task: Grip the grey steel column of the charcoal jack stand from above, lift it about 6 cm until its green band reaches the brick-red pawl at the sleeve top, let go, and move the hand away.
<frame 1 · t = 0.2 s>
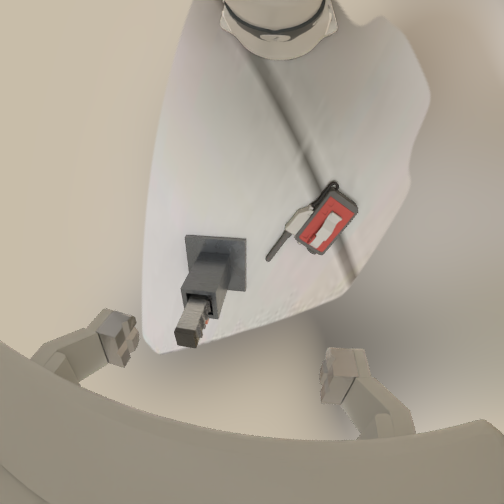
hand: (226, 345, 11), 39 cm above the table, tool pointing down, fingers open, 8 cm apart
walkie-talkie: (310, 227, 51), on the table
column: (203, 298, 47), point 11 cm above the table, slide at 0.0 cm
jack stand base: (216, 262, 57), on the table
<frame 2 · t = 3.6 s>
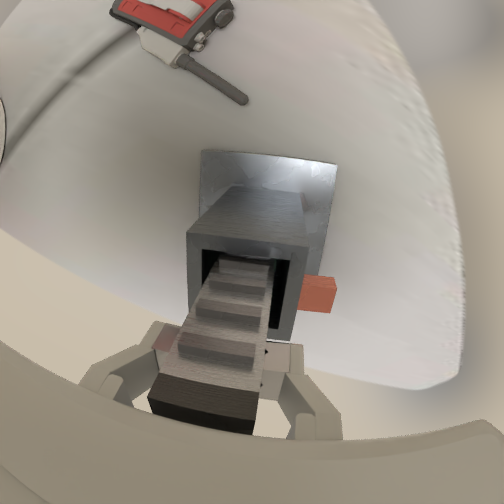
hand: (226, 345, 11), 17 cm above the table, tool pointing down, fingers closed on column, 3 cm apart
walkie-talkie: (191, 28, 19), on the table
column: (246, 274, 16), point 11 cm above the table, slide at 0.0 cm, touching gripper
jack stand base: (263, 217, 26), on the table
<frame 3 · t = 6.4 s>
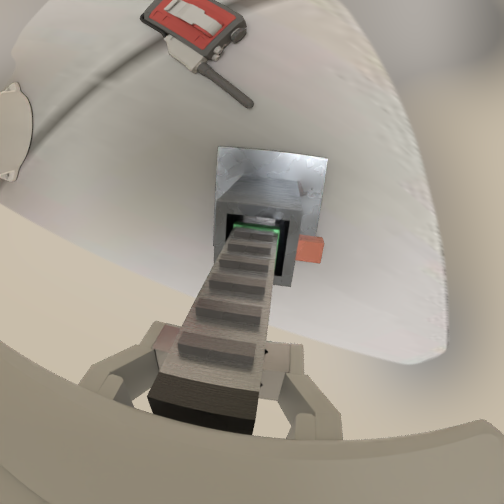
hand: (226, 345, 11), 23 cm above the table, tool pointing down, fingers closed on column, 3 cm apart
walkie-talkie: (210, 40, 25), on the table
column: (246, 273, 16), point 17 cm above the table, slide at 6.1 cm, touching gripper
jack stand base: (267, 201, 32), on the table
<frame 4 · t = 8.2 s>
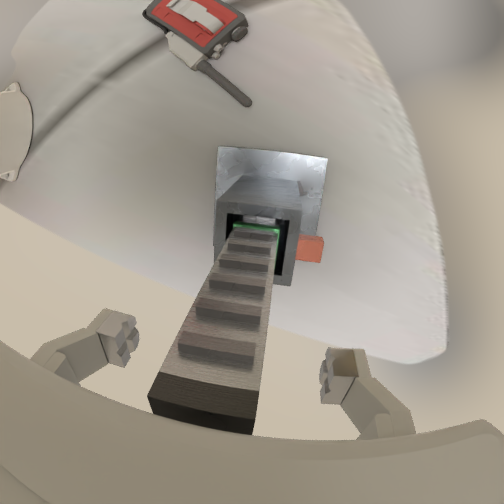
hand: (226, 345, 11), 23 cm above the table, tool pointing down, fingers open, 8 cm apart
walkie-talkie: (211, 38, 25), on the table
column: (246, 273, 16), point 17 cm above the table, slide at 6.2 cm
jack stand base: (267, 201, 32), on the table
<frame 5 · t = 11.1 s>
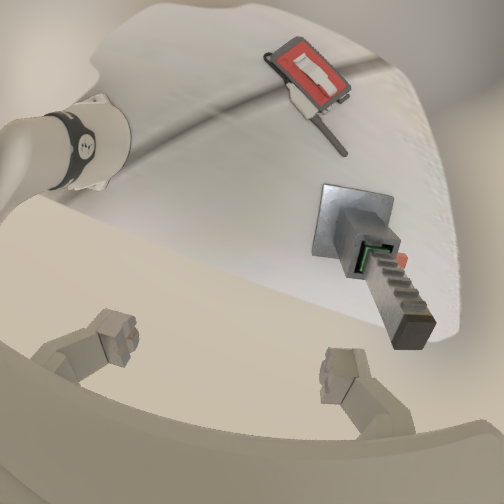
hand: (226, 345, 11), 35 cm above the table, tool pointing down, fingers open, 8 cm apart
walkie-talkie: (318, 94, 36), on the table
column: (384, 275, 28), point 17 cm above the table, slide at 6.2 cm
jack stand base: (352, 224, 43), on the table
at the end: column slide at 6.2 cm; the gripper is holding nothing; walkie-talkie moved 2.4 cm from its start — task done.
